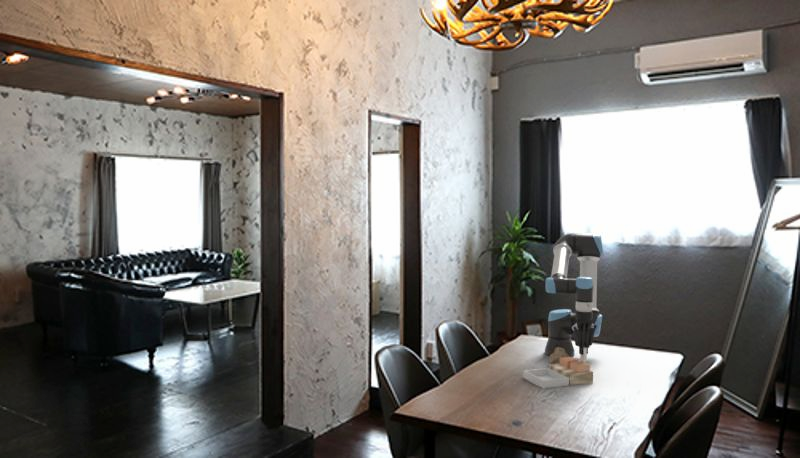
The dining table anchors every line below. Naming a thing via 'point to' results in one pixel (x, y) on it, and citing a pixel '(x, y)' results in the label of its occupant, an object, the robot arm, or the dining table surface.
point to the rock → (557, 355)
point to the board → (573, 374)
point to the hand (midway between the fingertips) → (583, 361)
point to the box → (546, 378)
